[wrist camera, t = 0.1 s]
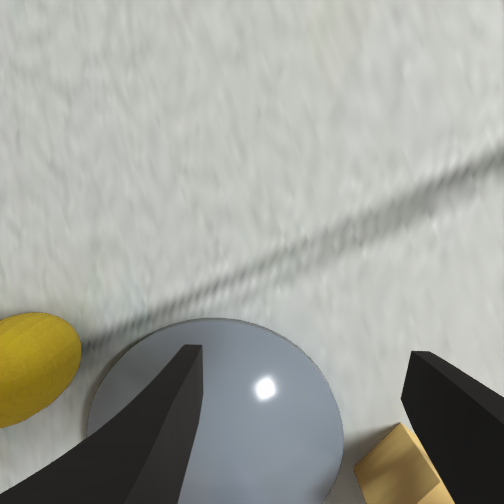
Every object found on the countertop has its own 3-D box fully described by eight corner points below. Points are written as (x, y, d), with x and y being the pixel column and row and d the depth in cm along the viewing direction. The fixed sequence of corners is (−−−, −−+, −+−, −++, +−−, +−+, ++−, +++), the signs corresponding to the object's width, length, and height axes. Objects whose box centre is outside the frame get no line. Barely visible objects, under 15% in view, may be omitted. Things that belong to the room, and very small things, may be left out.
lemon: (9, 342, 22) (-130, 422, 14) (50, 280, 21) (-72, 327, 13) (76, 386, 22) (-20, 487, 14) (118, 327, 22) (41, 398, 14)
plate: (231, 577, 25) (230, 593, 24) (45, 446, 23) (35, 457, 22) (391, 423, 23) (397, 433, 22) (199, 265, 21) (196, 268, 20)
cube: (400, 504, 24) (438, 583, 19) (352, 466, 23) (379, 537, 18) (447, 460, 23) (499, 530, 18) (399, 421, 23) (440, 481, 18)
